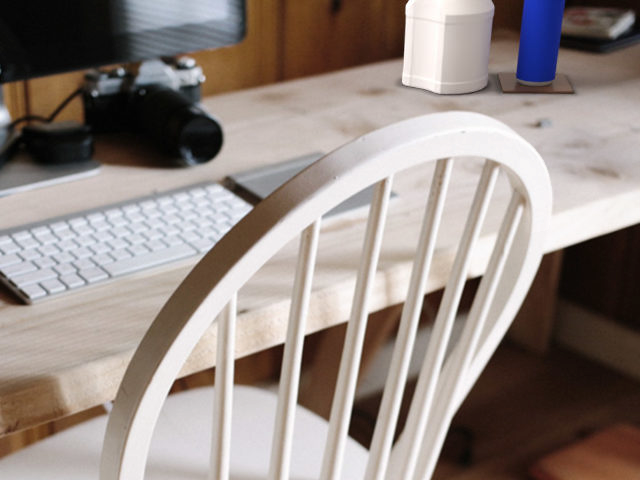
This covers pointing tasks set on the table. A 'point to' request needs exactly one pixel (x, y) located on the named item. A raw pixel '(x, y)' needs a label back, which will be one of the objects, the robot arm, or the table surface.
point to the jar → (447, 45)
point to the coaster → (513, 86)
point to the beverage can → (539, 41)
